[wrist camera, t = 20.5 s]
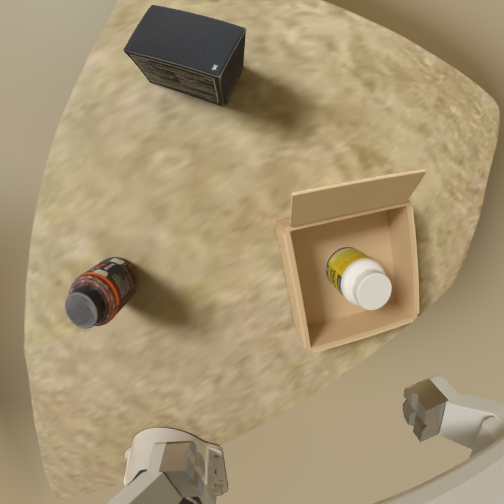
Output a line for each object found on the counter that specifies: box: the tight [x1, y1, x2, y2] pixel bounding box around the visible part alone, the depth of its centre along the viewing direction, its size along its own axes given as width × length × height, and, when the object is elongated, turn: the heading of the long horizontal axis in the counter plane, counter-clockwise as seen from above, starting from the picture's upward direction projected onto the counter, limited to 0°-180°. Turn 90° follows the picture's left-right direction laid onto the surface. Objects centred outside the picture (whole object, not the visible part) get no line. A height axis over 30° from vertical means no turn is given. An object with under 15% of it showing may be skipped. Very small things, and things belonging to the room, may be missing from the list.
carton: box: [276, 201, 419, 353], centre depth 36 cm, size 15×16×6 cm
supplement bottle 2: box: [325, 247, 392, 310], centre depth 34 cm, size 5×5×10 cm
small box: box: [124, 5, 246, 106], centre depth 28 cm, size 11×6×10 cm, turn 67°
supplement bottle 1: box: [65, 257, 138, 329], centre depth 32 cm, size 6×6×11 cm
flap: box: [290, 169, 426, 227], centre depth 29 cm, size 6×14×1 cm
